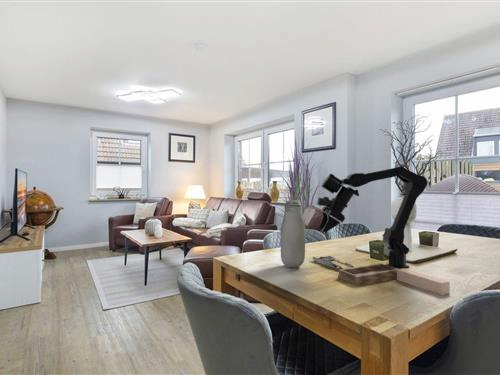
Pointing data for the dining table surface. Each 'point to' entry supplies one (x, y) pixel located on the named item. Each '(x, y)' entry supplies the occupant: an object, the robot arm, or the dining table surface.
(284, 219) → the grey vase
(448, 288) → the pale pink bar
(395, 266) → the robot arm
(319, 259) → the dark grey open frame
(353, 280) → the brown wooden tray
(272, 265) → the dining table surface
